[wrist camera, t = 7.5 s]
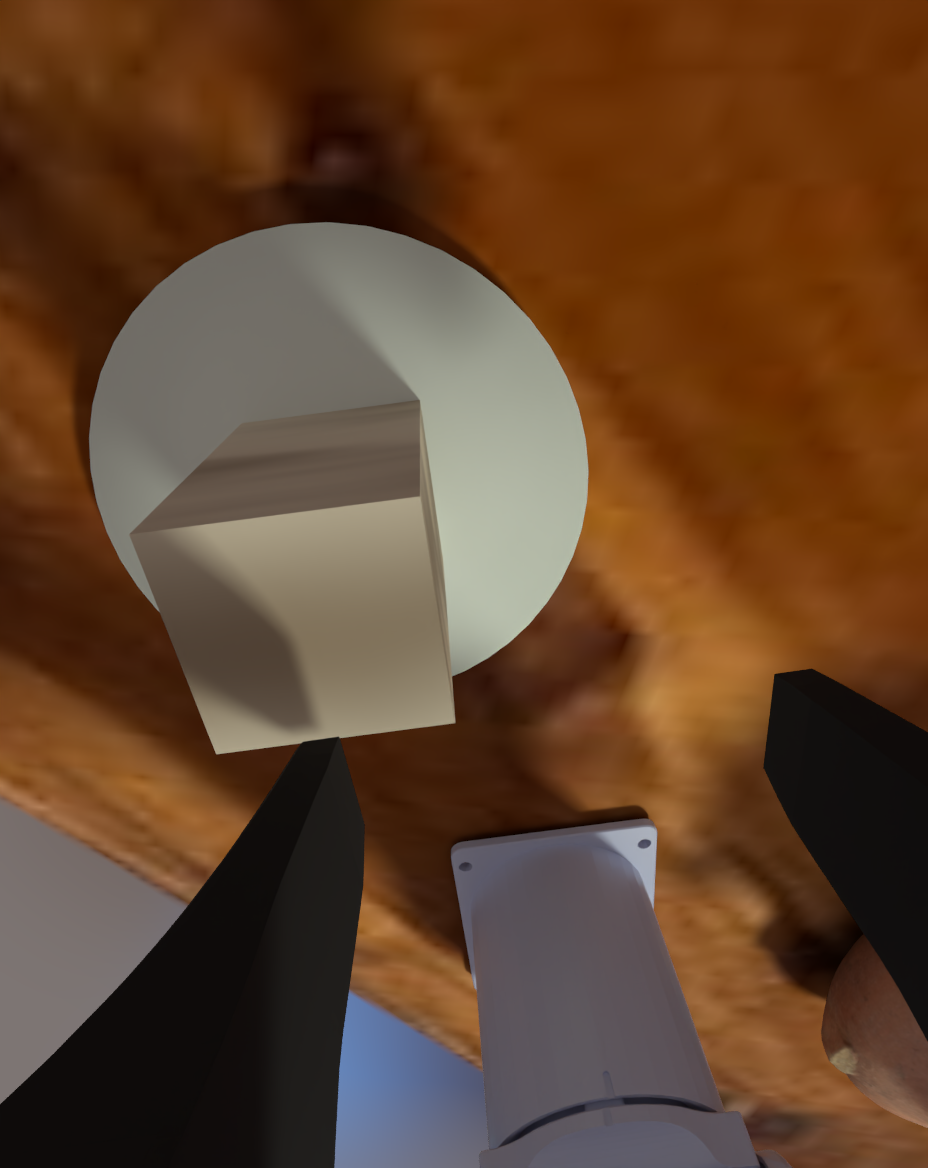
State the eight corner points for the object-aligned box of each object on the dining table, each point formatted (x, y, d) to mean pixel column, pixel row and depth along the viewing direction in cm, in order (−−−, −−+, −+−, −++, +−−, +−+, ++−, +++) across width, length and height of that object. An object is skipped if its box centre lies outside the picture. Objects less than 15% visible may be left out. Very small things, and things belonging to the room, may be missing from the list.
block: (443, 560, 18) (455, 723, 12) (285, 580, 18) (216, 754, 12) (420, 399, 16) (420, 496, 10) (241, 423, 16) (129, 534, 10)
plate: (584, 650, 21) (592, 667, 20) (193, 700, 21) (183, 720, 20) (573, 190, 15) (582, 187, 14) (20, 260, 15) (-4, 261, 14)
